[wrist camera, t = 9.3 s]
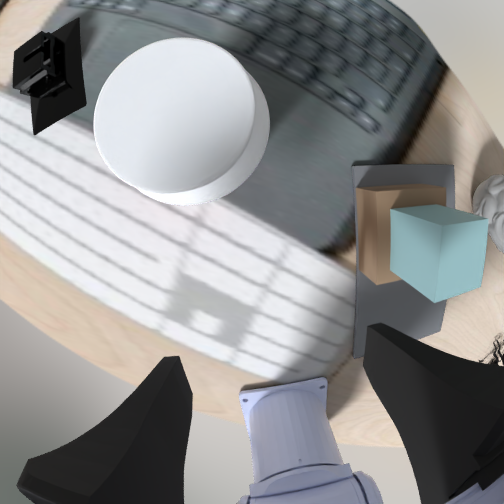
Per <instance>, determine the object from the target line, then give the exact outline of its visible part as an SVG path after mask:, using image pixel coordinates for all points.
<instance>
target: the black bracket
mask: <svg viewBox="0 0 504 504" xmlns="http://www.w3.org/2000/svg"><path fill="white" fill-rule="evenodd" d="M13 88H14V89H18V90H20V94H24V95H28V96H31V113H32V125H33V134H34V135H36V134H38V133H39V132H41V131H42V130H44V129H46V128H47V127H49V126H51V125H52V124H54V123H55V122H57V121H59V120H61V119H62V118H64V117H66V116H68V115H69V114H71V113H73V112H75V111H77V110H79V109H80V108H82V107H84V106H86V104H87V102H86V95H85V87H84V79H83V70H82V59H81V45H80V18H77V19H75V20H73V21H71V22H70V23H68V24H66V25H64V26H63V27H61V28H59V29H58V30H56V31H55V32H53V33H49V32H48V33H44V32H43V31H41V32H40V33H38V34H37V35H35V36H34V37H32V38H31V39H30V40H28V41H27V42H26V43H24V44H23V45H22V46H20V47H19V48H18V49H17V50H15V51H14V62H13Z"/></svg>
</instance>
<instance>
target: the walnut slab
mask: <svg viewBox="0 0 504 504" xmlns="http://www.w3.org/2000/svg"><path fill="white" fill-rule="evenodd" d="M356 200H357V218H358V250H359V270H360V271H361V272H362V273H363V274H364V275H365V276H367V277H368V278H369V279H370V280H371V281H372V282H374V283H375V284H376V285H380V284H385V283H389V282H394V281H398V280H402V279H401V278H400V277H399V276H397V275H396V274H395V273H393V272H392V271H390V253H391V216H390V209H394V208H404V207H414V206H424V205H435V204H437V205H441V206H445V207H446V187H441V186H434V185H428V184H404V185H387V186H373V187H360V188H356Z"/></svg>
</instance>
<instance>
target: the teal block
mask: <svg viewBox="0 0 504 504" xmlns="http://www.w3.org/2000/svg"><path fill="white" fill-rule="evenodd" d="M390 216H391V253H390V271H392V272H393V273H395V274H396V275H397V276H399V277H400V278H401V279H403V280H404V281H406V282H407V283H408V284H410V285H411V286H412V287H414V288H415V289H416V290H418V291H419V292H420V293H422V294H423V295H424V296H426V297H427V298H428V299H430V300H431V301H432V302H434V303H436V302H439V301H442V300H445V299H448V298H451V297H454V296H457V295H460V294H463V293H465V292H468V291H471V290H474V289H476V288H479V287H481V282H482V276H483V269H484V262H485V255H486V246H487V235H488V220H489V219H488V218H484V217H481V216H478V215H474V214H471V213H467V212H464V211H460V210H456V209H453V208H449V207H445V206H441V205H437V204H435V205H424V206H414V207H404V208H394V209H390Z"/></svg>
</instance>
